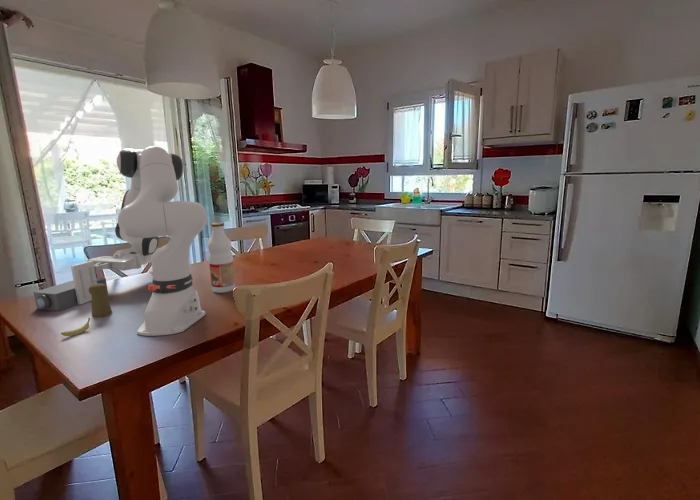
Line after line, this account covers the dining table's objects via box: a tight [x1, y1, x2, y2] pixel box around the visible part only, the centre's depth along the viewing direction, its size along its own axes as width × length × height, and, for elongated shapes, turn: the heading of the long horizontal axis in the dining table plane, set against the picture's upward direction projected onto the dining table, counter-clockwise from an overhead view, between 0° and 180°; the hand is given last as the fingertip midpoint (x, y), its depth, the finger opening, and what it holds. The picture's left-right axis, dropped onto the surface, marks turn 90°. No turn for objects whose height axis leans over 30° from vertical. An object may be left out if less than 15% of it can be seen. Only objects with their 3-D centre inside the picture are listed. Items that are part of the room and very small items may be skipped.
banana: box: [60, 317, 91, 337], centre depth 114 cm, size 8×2×4 cm, turn 150°
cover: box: [70, 261, 97, 306], centre depth 142 cm, size 8×2×15 cm, turn 164°
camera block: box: [33, 277, 109, 312], centre depth 143 cm, size 22×11×7 cm, turn 164°
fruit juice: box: [207, 222, 236, 294], centre depth 151 cm, size 9×9×28 cm
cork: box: [89, 284, 113, 318], centre depth 129 cm, size 6×6×11 cm
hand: (94, 268), depth 145 cm, fingers closed, pressing on cover
